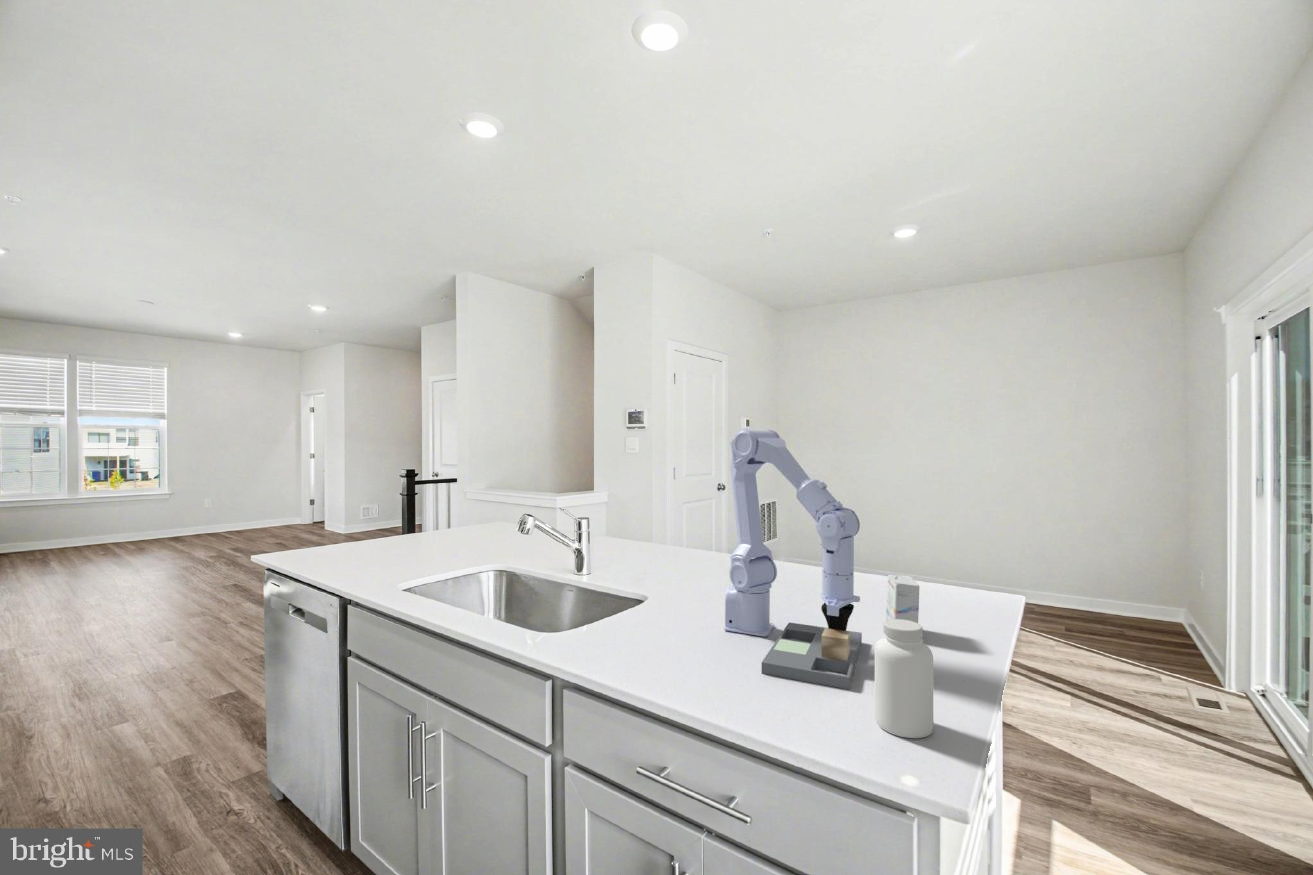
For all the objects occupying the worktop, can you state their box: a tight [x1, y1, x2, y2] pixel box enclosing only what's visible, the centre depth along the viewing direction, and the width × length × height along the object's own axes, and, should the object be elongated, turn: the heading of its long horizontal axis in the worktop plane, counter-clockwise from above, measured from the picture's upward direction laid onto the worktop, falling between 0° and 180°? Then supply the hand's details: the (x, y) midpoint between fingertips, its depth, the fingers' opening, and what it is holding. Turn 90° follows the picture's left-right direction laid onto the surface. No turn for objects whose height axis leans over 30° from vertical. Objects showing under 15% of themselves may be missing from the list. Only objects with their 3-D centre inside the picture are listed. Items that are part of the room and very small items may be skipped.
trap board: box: [761, 622, 863, 690], centre depth 109 cm, size 15×24×2 cm, turn 155°
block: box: [821, 627, 851, 661], centre depth 104 cm, size 4×4×4 cm
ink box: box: [885, 573, 920, 624], centre depth 122 cm, size 9×5×12 cm, turn 168°
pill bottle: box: [874, 619, 934, 739], centre depth 83 cm, size 8×8×15 cm
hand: (837, 642), depth 108 cm, fingers closed
